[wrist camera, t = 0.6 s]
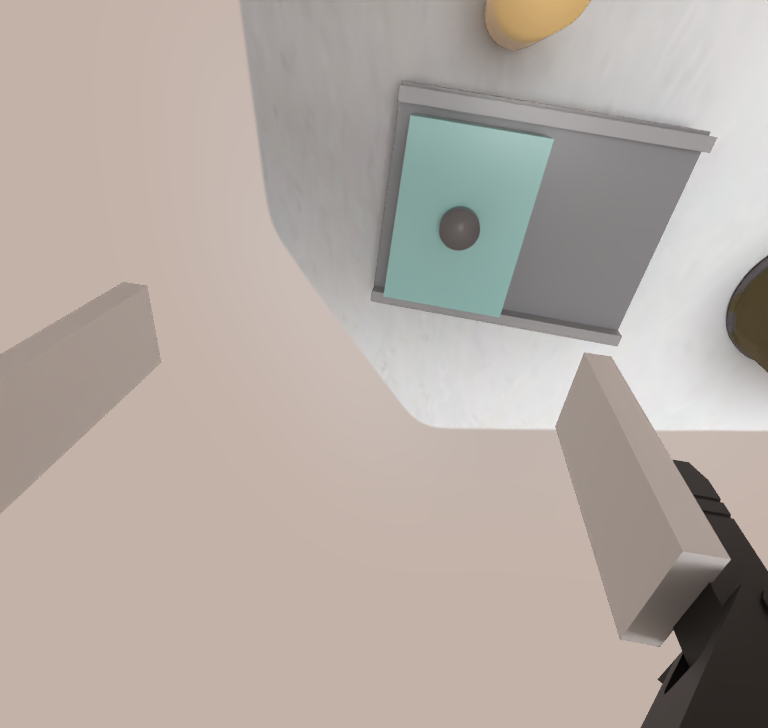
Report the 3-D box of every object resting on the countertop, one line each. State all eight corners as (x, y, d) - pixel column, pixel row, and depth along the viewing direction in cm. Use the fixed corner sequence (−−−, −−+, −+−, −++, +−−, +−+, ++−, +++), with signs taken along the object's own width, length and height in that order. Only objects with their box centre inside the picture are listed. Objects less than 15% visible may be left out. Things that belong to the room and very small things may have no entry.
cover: (413, 112, 27) (408, 116, 24) (546, 135, 27) (557, 141, 24) (387, 283, 33) (381, 302, 30) (496, 303, 33) (500, 324, 30)
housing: (406, 81, 29) (399, 81, 26) (687, 127, 29) (719, 133, 25) (377, 283, 37) (370, 303, 33) (600, 323, 36) (616, 348, 33)
